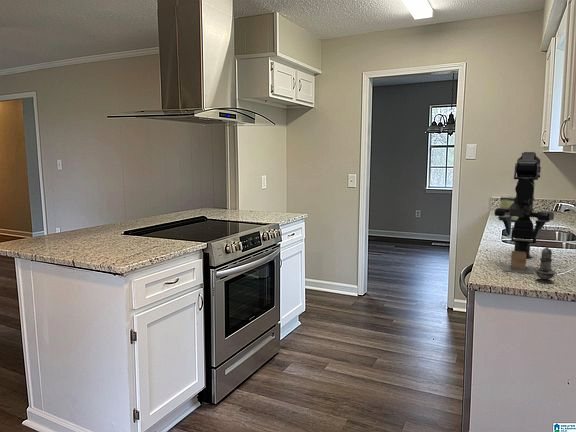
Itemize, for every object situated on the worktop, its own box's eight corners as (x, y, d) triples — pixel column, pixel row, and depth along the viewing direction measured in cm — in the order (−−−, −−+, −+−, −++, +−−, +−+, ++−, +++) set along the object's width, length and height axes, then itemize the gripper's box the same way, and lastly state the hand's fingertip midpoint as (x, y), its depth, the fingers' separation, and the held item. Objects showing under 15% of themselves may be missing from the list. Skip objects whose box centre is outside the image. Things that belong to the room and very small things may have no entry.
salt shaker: (547, 279, 150) (550, 244, 149) (558, 283, 144) (561, 247, 143) (530, 279, 150) (533, 244, 148) (540, 284, 144) (543, 247, 142)
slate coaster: (502, 265, 169) (502, 264, 169) (531, 268, 165) (531, 267, 165) (503, 271, 160) (503, 270, 160) (534, 274, 156) (534, 273, 156)
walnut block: (510, 266, 165) (511, 250, 165) (524, 267, 164) (525, 251, 163) (511, 269, 161) (512, 253, 161) (525, 270, 160) (526, 254, 159)
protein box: (508, 219, 303) (509, 196, 301) (530, 222, 289) (532, 198, 287) (498, 220, 298) (500, 197, 296) (520, 223, 284) (522, 198, 282)
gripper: (489, 194, 164) (487, 236, 166) (545, 198, 150) (541, 243, 152) (501, 192, 171) (499, 232, 173) (556, 196, 158) (552, 239, 160)
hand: (521, 236), depth 164 cm, fingers open, 9 cm apart
